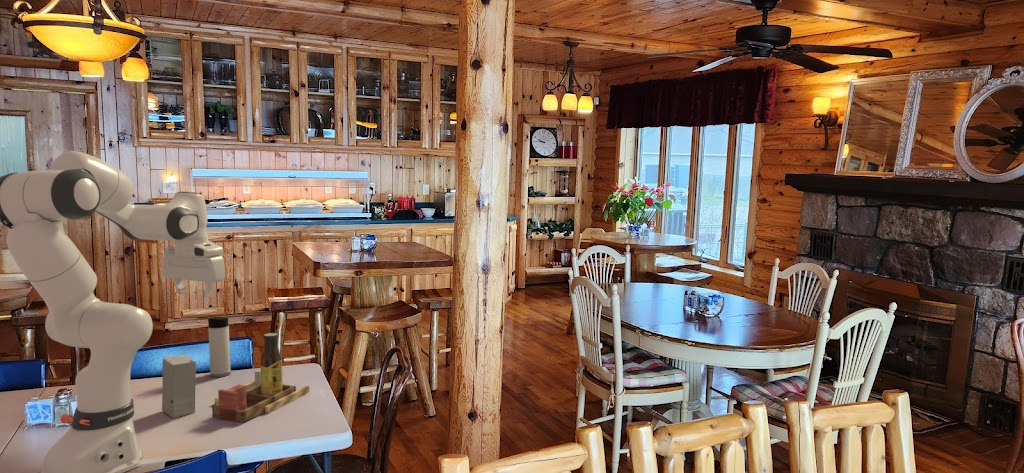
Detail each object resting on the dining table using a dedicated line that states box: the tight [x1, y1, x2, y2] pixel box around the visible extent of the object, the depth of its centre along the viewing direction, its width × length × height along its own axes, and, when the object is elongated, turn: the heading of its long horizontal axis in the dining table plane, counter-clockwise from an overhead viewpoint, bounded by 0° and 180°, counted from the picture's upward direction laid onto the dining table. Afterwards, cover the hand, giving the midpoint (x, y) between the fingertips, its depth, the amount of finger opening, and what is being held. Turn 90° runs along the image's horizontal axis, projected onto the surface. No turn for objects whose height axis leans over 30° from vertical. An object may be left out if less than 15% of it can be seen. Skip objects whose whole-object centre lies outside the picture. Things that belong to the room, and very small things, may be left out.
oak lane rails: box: [214, 379, 310, 414], centre depth 203 cm, size 19×19×2 cm
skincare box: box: [161, 354, 197, 419], centre depth 191 cm, size 8×7×16 cm
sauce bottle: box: [260, 332, 284, 396], centre depth 202 cm, size 6×6×20 cm
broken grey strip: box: [246, 368, 261, 391], centre depth 206 cm, size 18×4×6 cm, turn 160°
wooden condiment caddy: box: [211, 383, 297, 423], centre depth 196 cm, size 22×11×8 cm, turn 160°
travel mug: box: [207, 316, 232, 378], centre depth 223 cm, size 6×7×20 cm
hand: (194, 295), depth 193 cm, fingers open, 8 cm apart
